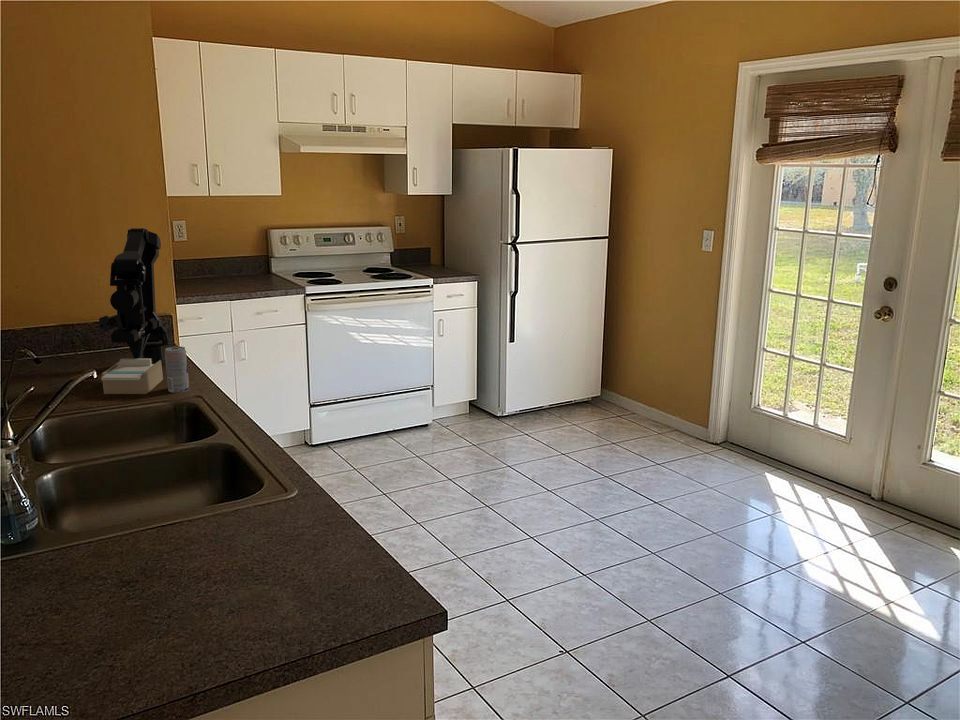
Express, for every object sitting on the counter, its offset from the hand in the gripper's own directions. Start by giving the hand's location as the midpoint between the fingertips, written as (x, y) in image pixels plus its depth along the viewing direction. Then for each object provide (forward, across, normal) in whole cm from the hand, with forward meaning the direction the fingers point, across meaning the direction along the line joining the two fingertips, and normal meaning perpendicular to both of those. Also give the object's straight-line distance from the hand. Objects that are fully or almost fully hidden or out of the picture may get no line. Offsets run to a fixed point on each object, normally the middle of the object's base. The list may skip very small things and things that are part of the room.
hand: (137, 360), depth 213 cm
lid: (+2, +6, 0) cm, 7 cm away
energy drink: (+7, +7, +13) cm, 16 cm away
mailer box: (+7, +4, 0) cm, 8 cm away
